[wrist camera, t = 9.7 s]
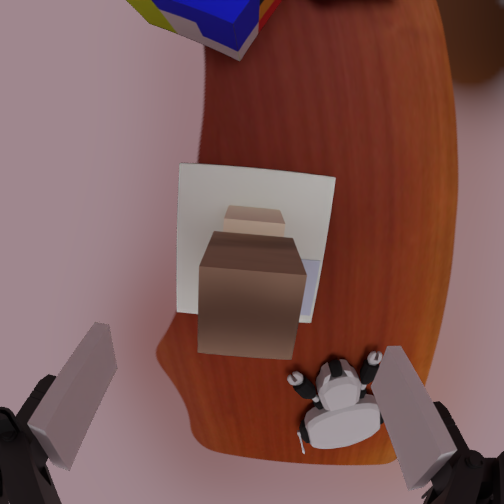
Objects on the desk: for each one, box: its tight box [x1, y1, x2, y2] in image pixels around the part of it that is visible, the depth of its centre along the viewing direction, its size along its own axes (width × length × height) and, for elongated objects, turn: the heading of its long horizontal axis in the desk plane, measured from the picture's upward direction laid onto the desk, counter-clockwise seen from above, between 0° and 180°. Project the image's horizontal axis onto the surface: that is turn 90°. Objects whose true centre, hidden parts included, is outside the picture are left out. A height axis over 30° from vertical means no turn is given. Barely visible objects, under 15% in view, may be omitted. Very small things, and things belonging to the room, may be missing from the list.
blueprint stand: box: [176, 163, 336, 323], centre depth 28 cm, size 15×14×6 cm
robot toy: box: [287, 351, 387, 454], centre depth 36 cm, size 12×4×15 cm
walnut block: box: [198, 231, 307, 360], centre depth 22 cm, size 6×6×7 cm
